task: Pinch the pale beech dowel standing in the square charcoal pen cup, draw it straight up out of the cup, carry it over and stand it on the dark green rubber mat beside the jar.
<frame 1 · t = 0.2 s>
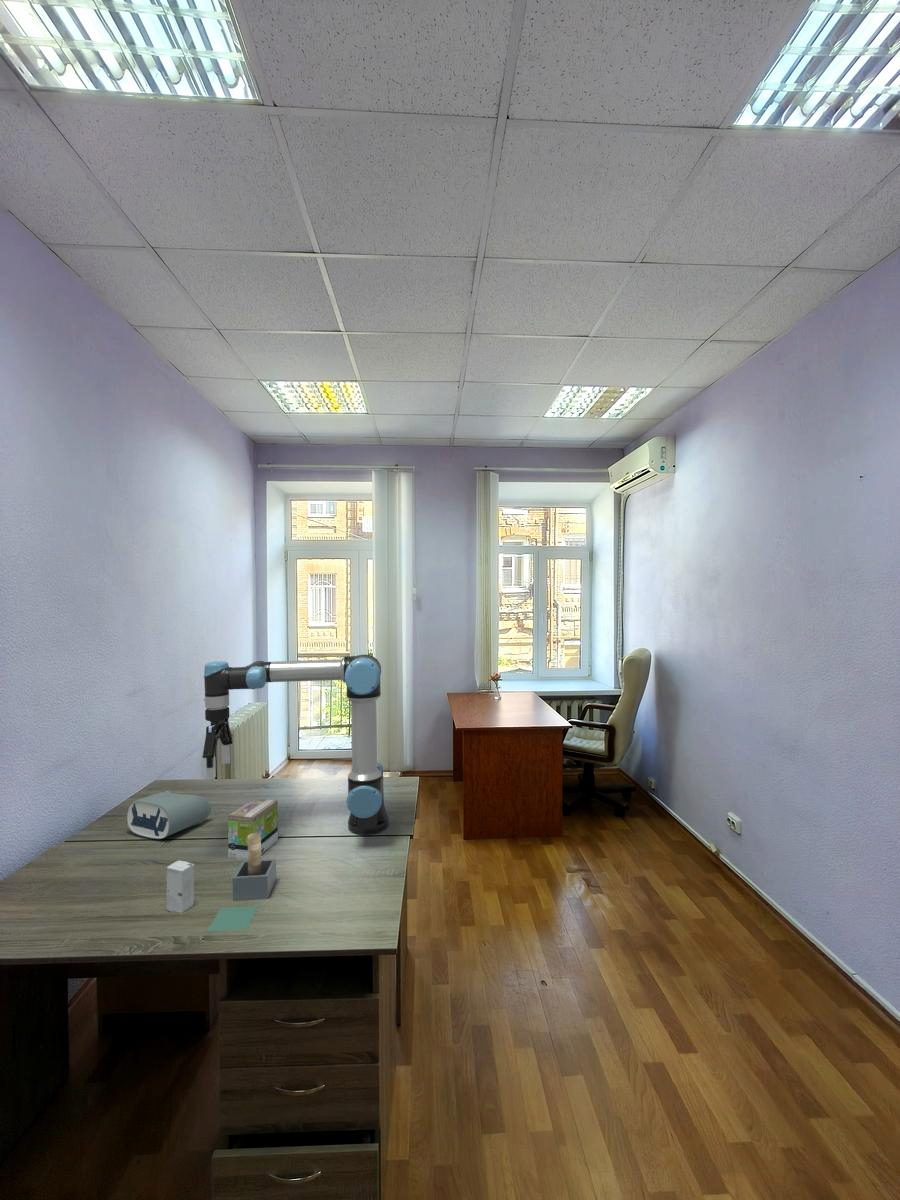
hand: (218, 770, 176), 28 cm above the table, fingers open, 13 cm apart
tea box: (254, 850, 178), on the table
mat: (233, 920, 139), on the table
dowel: (255, 890, 152), point 1 cm above the table, touching pen cup
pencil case: (170, 828, 196), on the table
pen cup: (255, 892, 152), on the table
skincare box: (181, 909, 144), on the table
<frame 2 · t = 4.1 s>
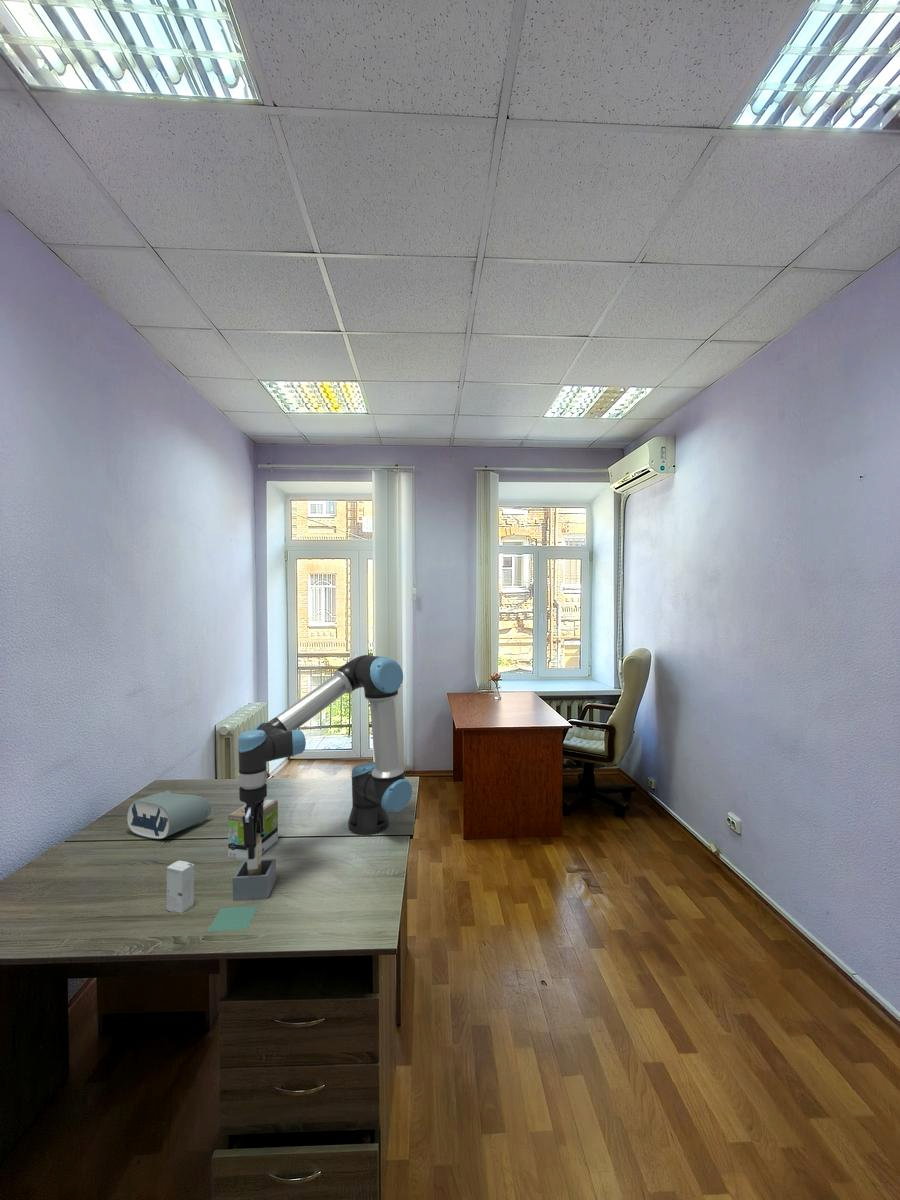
hand: (254, 864, 152), 8 cm above the table, fingers closed on dowel, 3 cm apart
dowel: (255, 890, 152), point 1 cm above the table, touching gripper, pen cup
everything else where it was.
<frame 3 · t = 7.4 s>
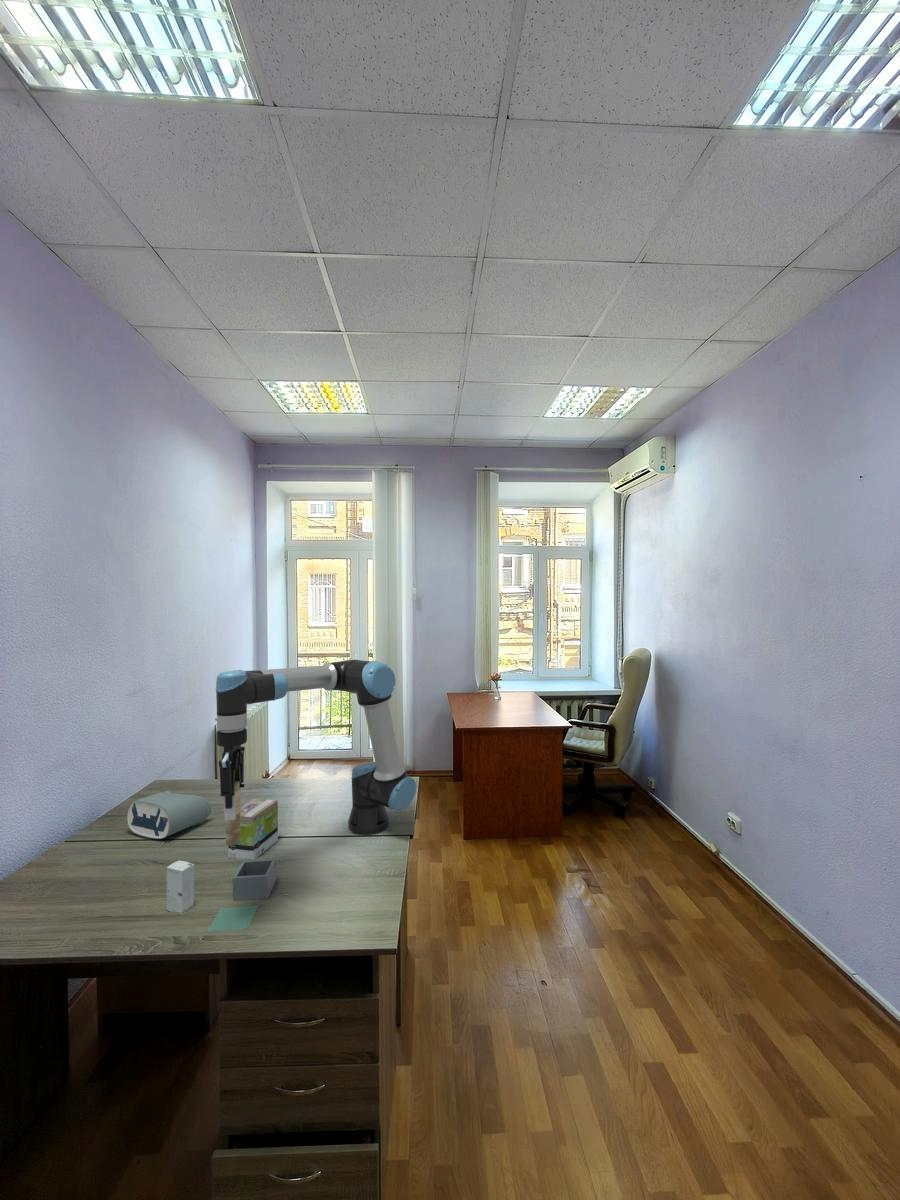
hand: (232, 815, 140), 27 cm above the table, fingers closed on dowel, 3 cm apart
dowel: (233, 842, 140), point 20 cm above the table, touching gripper
everything else where it was.
when the fingers open (10 cm above the table, at t = 11.0 s): dowel drops 2 cm, resting on mat.
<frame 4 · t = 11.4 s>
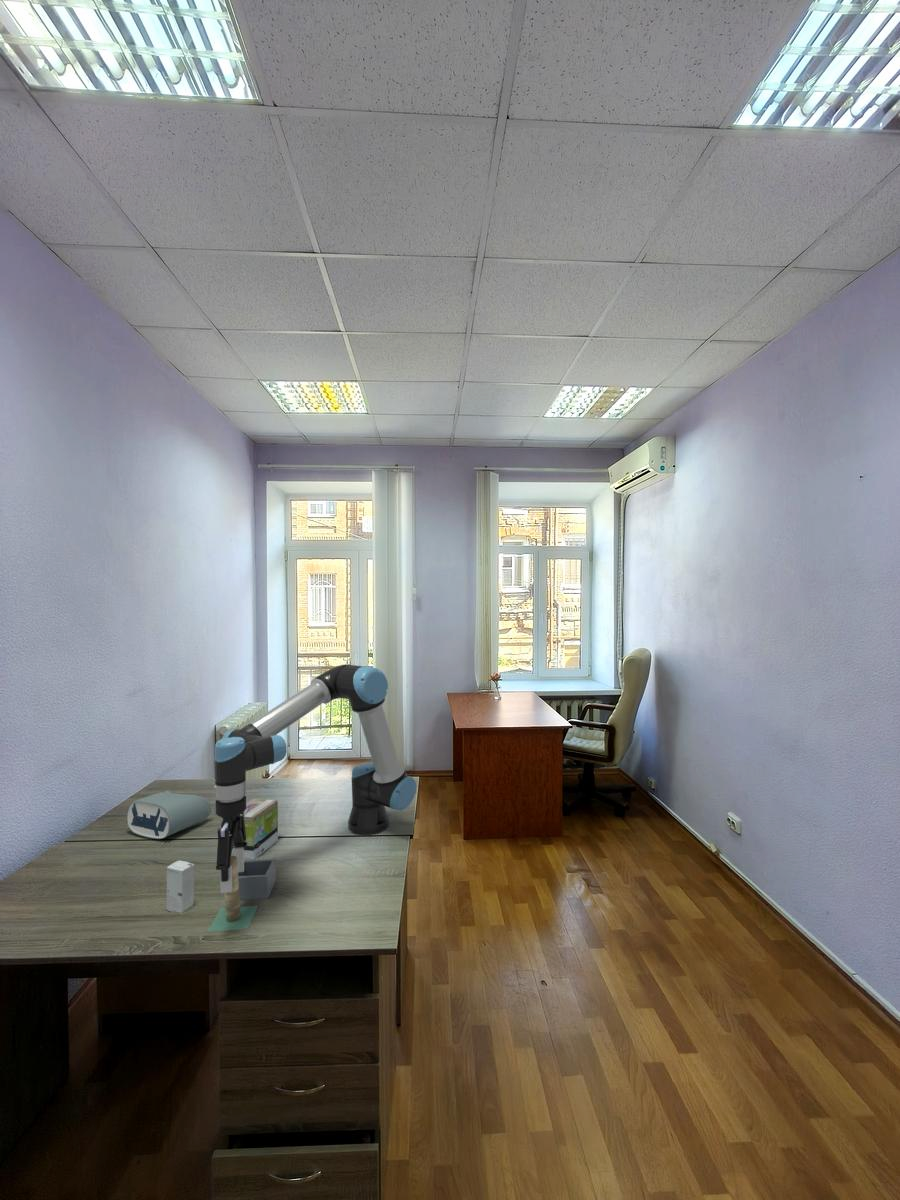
hand: (232, 881, 138), 11 cm above the table, fingers open, 9 cm apart
dowel: (233, 917, 139), point 1 cm above the table, touching mat
everything else where it was.
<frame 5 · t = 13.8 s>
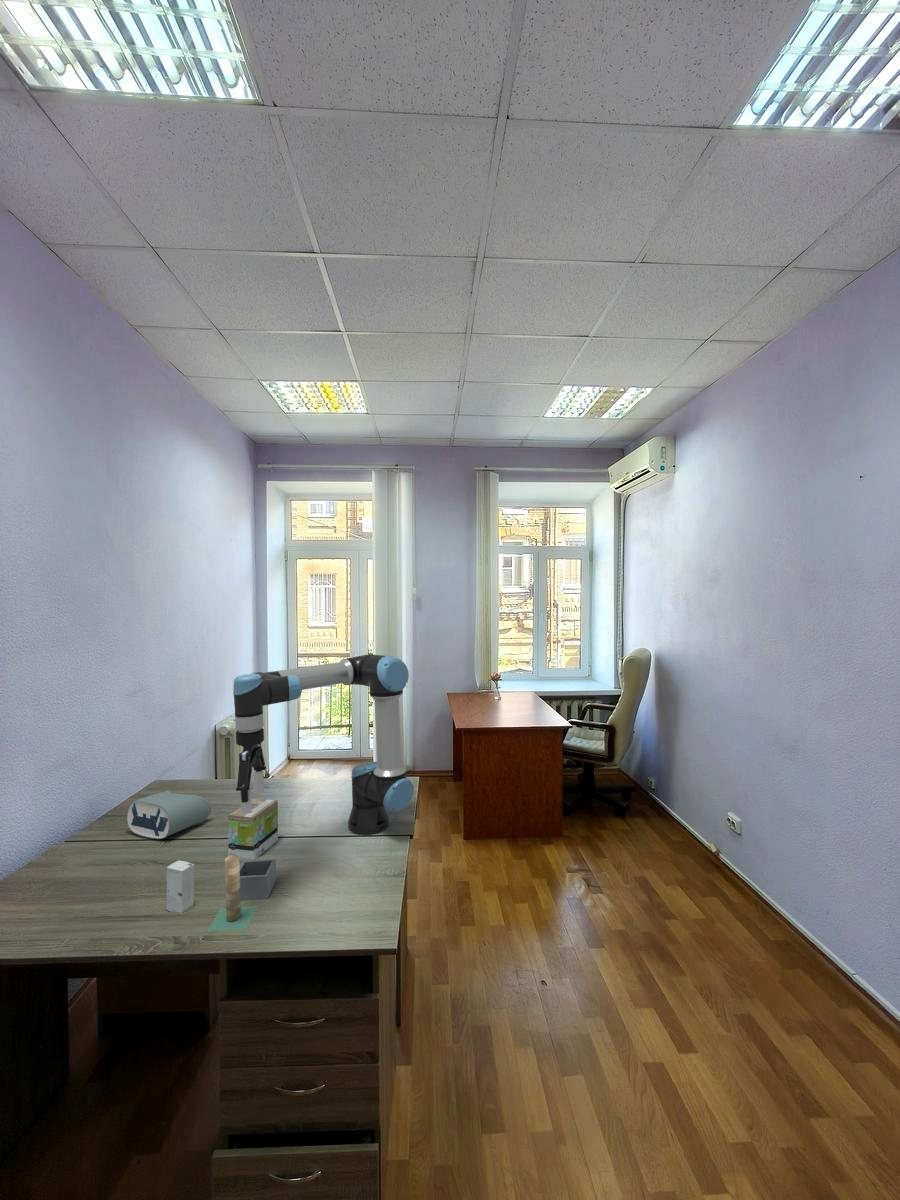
hand: (253, 802, 149), 27 cm above the table, fingers open, 13 cm apart
nothing on the table moved.
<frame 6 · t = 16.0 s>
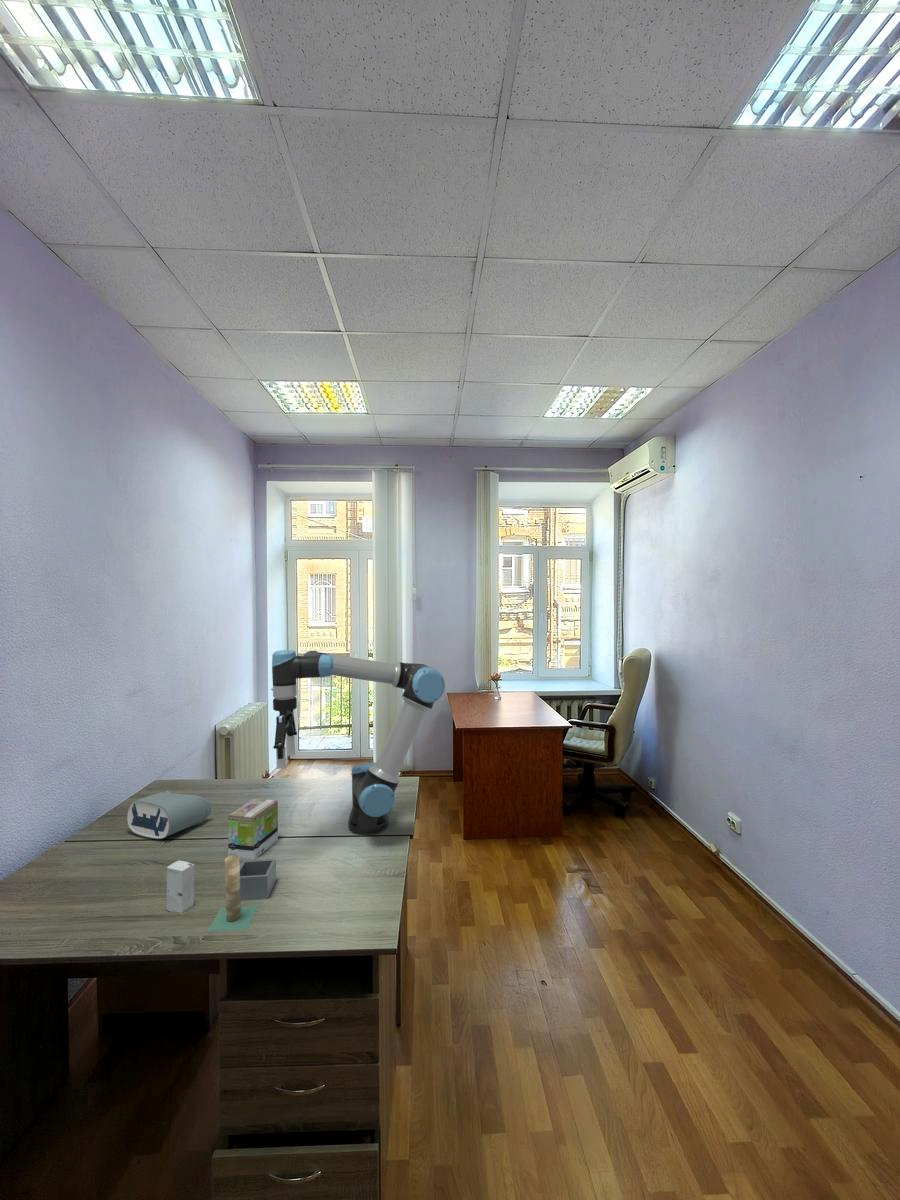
hand: (286, 761, 172), 32 cm above the table, fingers open, 13 cm apart
nothing on the table moved.
at the end: dowel inside the target area on the mat (0.1 cm from its centre), point 0.6 cm above the mat's base; dowel tilted 0°; the gripper is holding nothing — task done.
